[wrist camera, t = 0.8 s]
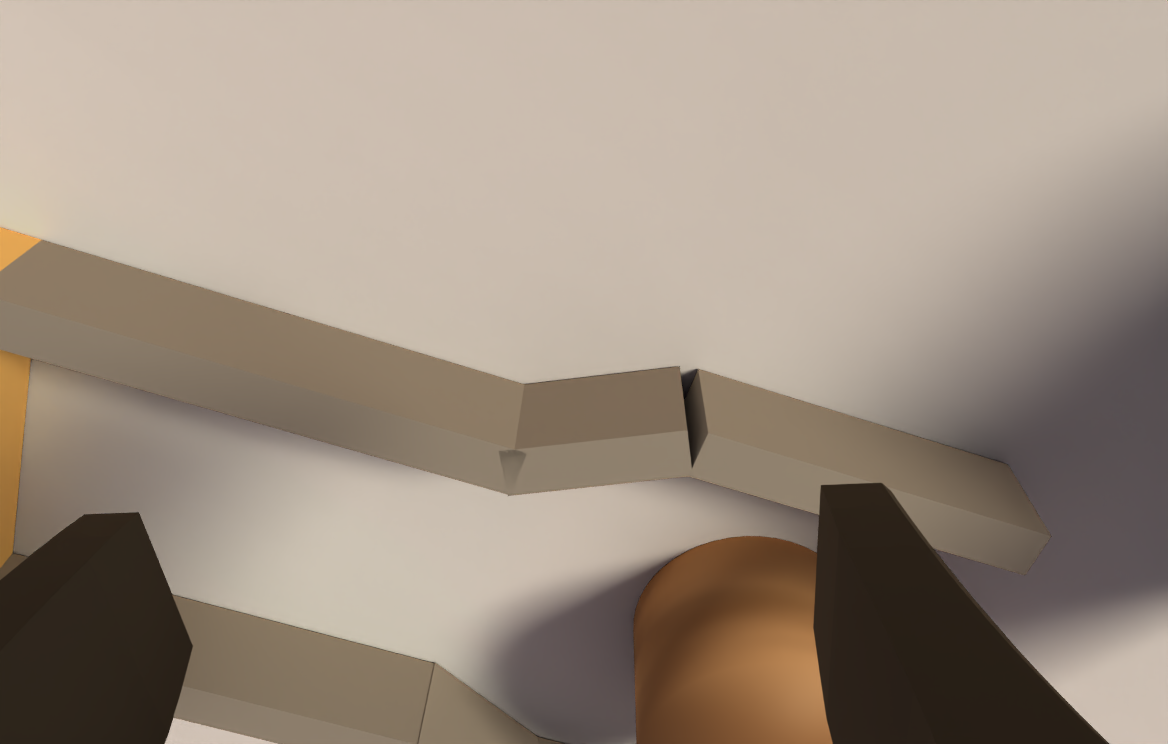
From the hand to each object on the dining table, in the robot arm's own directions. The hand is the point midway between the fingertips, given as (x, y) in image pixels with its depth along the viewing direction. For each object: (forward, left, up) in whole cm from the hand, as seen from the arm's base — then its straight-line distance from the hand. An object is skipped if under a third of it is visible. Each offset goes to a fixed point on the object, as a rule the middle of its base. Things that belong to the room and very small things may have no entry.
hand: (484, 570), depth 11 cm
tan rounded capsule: (-8, -7, -10) cm, 15 cm away
